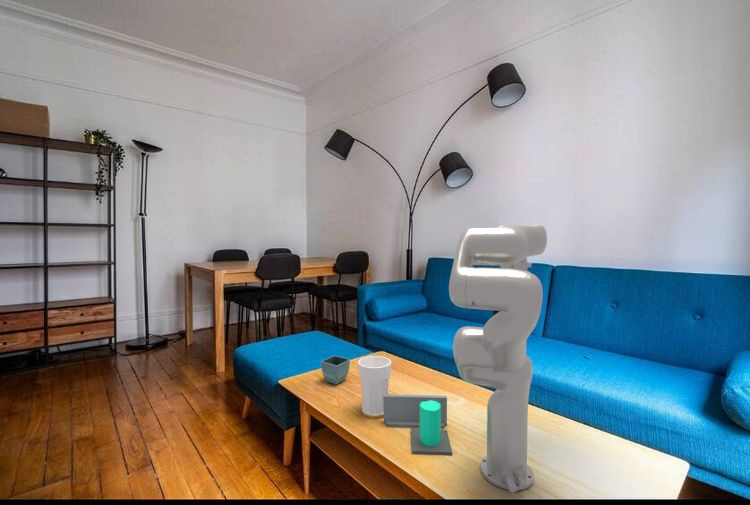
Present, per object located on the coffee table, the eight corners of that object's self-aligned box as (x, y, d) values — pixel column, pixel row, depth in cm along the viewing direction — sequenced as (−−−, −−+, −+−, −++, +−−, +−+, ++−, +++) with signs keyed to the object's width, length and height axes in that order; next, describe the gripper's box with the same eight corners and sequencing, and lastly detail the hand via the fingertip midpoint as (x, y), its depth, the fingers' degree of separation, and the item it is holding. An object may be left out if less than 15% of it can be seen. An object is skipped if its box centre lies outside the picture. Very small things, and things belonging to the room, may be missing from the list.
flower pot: (350, 380, 146) (350, 359, 145) (337, 388, 138) (337, 365, 138) (334, 375, 150) (334, 355, 150) (320, 383, 143) (320, 361, 142)
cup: (351, 411, 120) (351, 362, 119) (374, 400, 128) (373, 353, 127) (375, 424, 112) (375, 370, 111) (398, 410, 120) (398, 361, 119)
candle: (441, 435, 104) (441, 396, 103) (440, 447, 98) (440, 405, 97) (420, 433, 105) (420, 394, 105) (418, 444, 99) (418, 403, 99)
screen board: (447, 428, 109) (447, 400, 108) (383, 426, 110) (383, 398, 110) (445, 420, 114) (445, 393, 113) (384, 418, 115) (383, 391, 115)
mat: (452, 455, 96) (452, 452, 96) (411, 453, 97) (411, 450, 97) (446, 432, 107) (446, 429, 107) (410, 431, 108) (410, 428, 108)
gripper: (537, 265, 110) (536, 319, 111) (481, 265, 112) (481, 318, 113) (547, 267, 103) (546, 325, 104) (487, 267, 104) (486, 324, 105)
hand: (512, 321), depth 108 cm, fingers open, 9 cm apart
